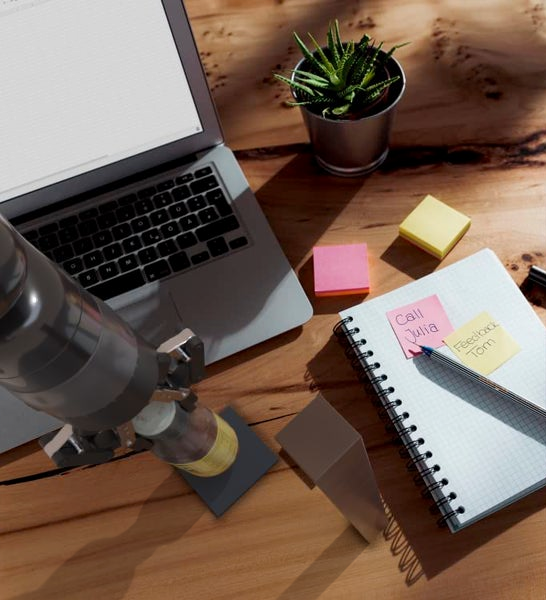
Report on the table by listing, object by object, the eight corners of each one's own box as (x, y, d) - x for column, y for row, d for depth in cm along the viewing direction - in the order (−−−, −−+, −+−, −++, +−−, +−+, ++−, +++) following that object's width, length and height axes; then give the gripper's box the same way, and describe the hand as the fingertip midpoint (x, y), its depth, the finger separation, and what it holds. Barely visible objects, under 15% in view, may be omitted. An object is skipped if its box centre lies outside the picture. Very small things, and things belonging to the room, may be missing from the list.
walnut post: (370, 543, 73) (315, 482, 31) (351, 523, 74) (272, 437, 31) (389, 523, 74) (361, 436, 31) (370, 503, 74) (319, 393, 32)
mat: (219, 517, 74) (217, 517, 73) (170, 460, 77) (168, 459, 76) (279, 460, 76) (278, 459, 76) (230, 406, 79) (229, 405, 79)
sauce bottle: (174, 447, 73) (92, 403, 54) (220, 410, 74) (156, 354, 56) (208, 493, 71) (135, 463, 52) (255, 454, 72) (200, 411, 54)
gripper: (133, 253, 46) (203, 339, 61) (-51, 395, 42) (75, 448, 58) (200, 324, 44) (255, 394, 59) (13, 481, 40) (125, 512, 55)
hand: (166, 421), depth 58 cm, fingers closed on sauce bottle, 4 cm apart
